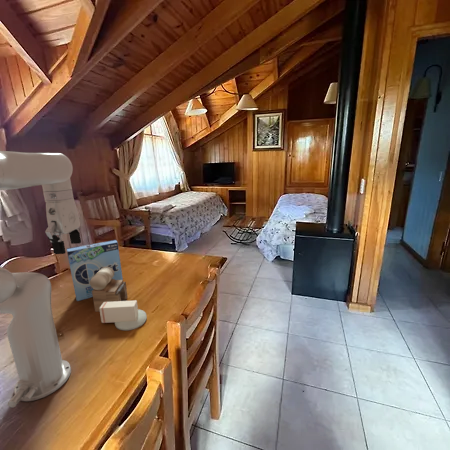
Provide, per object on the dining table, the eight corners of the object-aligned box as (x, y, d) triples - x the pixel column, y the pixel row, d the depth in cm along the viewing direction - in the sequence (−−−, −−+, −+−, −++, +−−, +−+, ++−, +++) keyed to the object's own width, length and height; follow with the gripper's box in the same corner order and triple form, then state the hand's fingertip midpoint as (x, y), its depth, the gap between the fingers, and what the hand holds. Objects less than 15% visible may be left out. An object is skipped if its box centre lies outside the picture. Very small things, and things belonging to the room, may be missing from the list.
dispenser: (119, 310, 100) (115, 276, 97) (93, 311, 100) (88, 277, 96) (127, 297, 110) (123, 265, 106) (104, 298, 109) (99, 266, 106)
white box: (135, 321, 92) (133, 306, 90) (101, 323, 91) (99, 308, 89) (138, 314, 96) (136, 300, 94) (106, 316, 95) (103, 301, 93)
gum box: (121, 284, 121) (116, 239, 115) (124, 288, 117) (118, 242, 111) (75, 296, 111) (66, 247, 105) (76, 302, 107) (66, 251, 101)
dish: (142, 329, 89) (142, 326, 89) (110, 331, 88) (110, 328, 88) (149, 311, 100) (149, 308, 99) (121, 312, 99) (120, 309, 99)
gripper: (55, 200, 70) (65, 258, 74) (84, 192, 87) (92, 239, 91) (26, 200, 69) (39, 258, 74) (62, 192, 86) (70, 240, 91)
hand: (68, 248), depth 82 cm, fingers open, 9 cm apart
